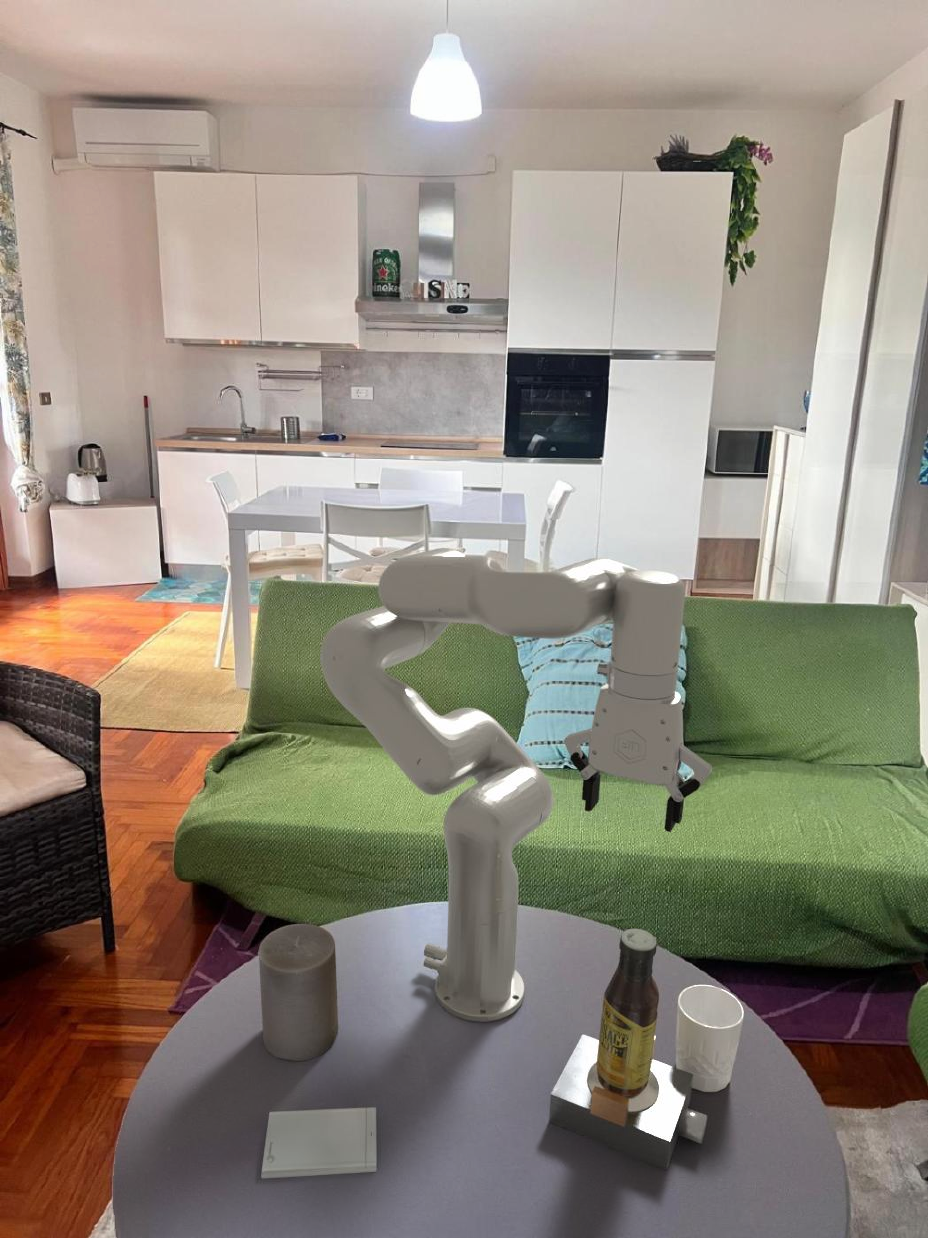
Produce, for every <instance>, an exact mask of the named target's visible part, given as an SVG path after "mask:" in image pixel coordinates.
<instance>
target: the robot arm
mask: <svg viewBox="0 0 928 1238" xmlns="http://www.w3.org/2000/svg"><path fill="white" fill-rule="evenodd" d="M377 586H378V587H377V590H378V596H379V599H380V603H382V605H383V606H379V607H376V608H372V609H368V610H366V611H363V612H359V613H355V614H353V615H351V616H347V617H346V618H344V619H342V620H340V621H338V622H337V623H336V624H334V625H333V626H332V627H330V629H329V630H328V631H327V632H326V634H325V635H324V637H323V638H322V639H323V640H322V643H321V645H320V665H321V672H322V674H323V677H324V680H325V682H326V685H327V686H328V688H329V690H330V691H331V693H332V694H333V697H335V699H337V701H339V703H340V704H341V705H342V706H343V707H344V708H345V710H347V711H348V712H349V713H350V714H351V715H352V716H354V718H356V720H358V721H359V722H360V723H361V724H362V725H363V726H364V727H365V728H366V729H367V730H368V731H369V732H370V734H372V736H373V737H374V739H375V740H376V742H378V743H379V745H380V746H381V747H382V748H383V750H384V751H385V752H386V753H387V755H388V756H389V757H390V758H391V759H392V760H393V762H394V763H395V764H396V765H397V766H398V768H400V770H401V771H402V772H403V773H404V775H405V776H406V777H407V778H408V780H409V781H410V782H411V783H412V784H413V785H414V786H415V787H416V788H417V789H419V790H420V791H421V792H422V793H423V794H426V795H429V796H439V795H442V794H445V793H447V792H449V791H451V790H452V789H455V788H456V787H458V786H461V784H463V783H464V782H466V781H468V780H470V779H471V778H473V779H474V781H475V782H476V783H475V784H474V785H472V786H470V787H468V788H467V789H466V790H464V791H463V792H462V793H460V794H459V795H458V796H456V797H455V799H454V800H453V801H452V802H451V803H450V805H449V806H448V807H447V810H446V812H445V815H444V818H443V825H442V828H443V829H442V830H443V836H444V837H443V838H444V841H445V842H444V843H445V848H446V854H447V862H448V905H447V907H448V908H447V909H448V910H447V935H446V936H447V939H446V945H447V946H446V948H443V947H441V946H440V945H436V944H434V943H430V942H427V943H426V945H425V947H424V950H423V955H424V957H425V959H424V960H423V967H425V968H427V969H431V970H435V971H436V972H437V975H436V979H435V983H434V992H435V993H434V994H435V997H436V1000H437V1001H438V1004H440V1006H441V1007H442V1008H443V1009H445V1010H446V1011H447V1012H448V1013H450V1014H452V1015H453V1016H455V1017H458V1018H459V1019H462V1020H466V1021H470V1022H479V1023H481V1022H483V1023H484V1022H485V1023H486V1022H492V1021H498V1020H500V1019H503V1018H506V1017H508V1016H510V1015H512V1014H513V1013H515V1012H516V1010H518V1009H519V1007H520V1006H521V1005H522V1003H523V1001H524V999H525V990H526V989H525V988H526V987H525V982H524V980H523V977H522V975H521V974H520V973H519V972H518V971H517V970H516V968H515V965H516V949H517V932H518V931H517V929H518V926H517V925H518V911H519V910H518V909H519V884H520V882H519V873H518V870H517V868H516V865H515V864H514V861H513V851H514V849H515V848H516V846H517V845H518V844H519V843H520V842H521V841H523V840H524V839H525V838H526V837H527V836H529V835H530V834H531V833H532V832H533V831H536V829H538V828H540V826H542V824H544V822H546V821H547V819H549V816H551V813H552V811H553V808H554V803H555V802H554V793H553V789H552V786H551V783H550V782H549V780H548V779H547V777H546V776H545V773H543V771H542V770H541V769H540V768H539V767H538V765H537V764H536V762H534V761H533V760H532V759H531V757H530V756H529V754H527V753H526V752H525V751H524V750H523V748H522V747H521V746H520V745H519V744H518V743H517V741H516V740H514V738H513V737H512V736H511V735H510V734H509V733H508V731H506V729H504V727H503V726H502V724H500V723H499V722H498V721H497V720H496V719H495V718H494V717H492V716H491V715H490V714H488V713H487V712H485V711H483V710H480V709H479V708H475V707H474V708H473V707H461V708H457V709H454V710H452V711H450V712H448V713H446V714H443V715H439V714H438V713H437V712H436V711H435V710H434V709H432V708H431V706H429V705H428V703H427V702H426V701H425V700H424V698H423V697H422V696H421V695H420V694H419V692H417V691H416V690H415V689H413V688H412V687H411V686H410V685H408V684H406V683H404V682H403V681H401V680H399V679H397V678H394V677H392V676H391V675H389V674H387V673H386V672H385V669H388V668H391V667H393V666H396V665H398V664H401V663H403V662H406V661H408V660H411V659H413V658H416V657H418V656H420V655H421V654H424V653H425V652H426V651H427V650H428V649H429V648H431V646H432V645H433V644H434V643H435V642H436V641H437V640H438V638H439V637H440V636H441V635H442V634H443V633H444V632H445V630H446V629H447V628H448V627H449V626H450V625H451V623H458V624H470V625H472V624H473V625H482V627H484V628H485V629H487V630H490V631H491V632H494V633H495V634H499V635H503V636H508V637H515V638H531V639H549V640H552V639H556V640H557V639H565V638H571V637H575V636H577V635H579V634H582V633H584V632H585V631H588V630H590V629H592V628H593V627H596V626H600V625H604V624H609V623H612V632H611V633H612V634H611V635H612V636H611V647H610V659H609V661H608V662H605V663H602V662H599V663H598V664H597V669H596V670H597V671H596V674H597V675H601V676H602V675H603V677H605V679H606V683H605V684H604V685H602V686H601V688H600V690H599V693H598V696H597V700H596V705H595V707H594V708H595V709H594V714H593V717H592V718H593V719H592V725H591V728H588V729H583V730H581V731H577V732H573V733H570V734H568V735H566V737H565V738H564V739H563V743H564V745H565V748H566V750H567V753H568V754H569V757H570V762H571V763H572V764H573V765H574V767H575V768H576V769H577V770H578V772H579V777H580V778H581V779H582V792H581V801H584V811H586V812H589V813H590V812H592V811H593V810H594V809H595V807H596V806H597V805H598V803H599V799H600V789H601V787H600V786H601V776H602V774H605V775H609V776H614V777H618V778H623V779H626V780H631V781H635V782H639V783H644V784H648V785H654V786H658V787H659V786H662V787H664V788H665V789H666V790H667V792H668V793H669V794H670V796H669V798H667V799H668V800H667V801H666V802H667V803H666V810H665V811H666V812H665V820H664V831H665V832H668V833H672V831H673V829H674V827H675V826H676V825H677V824H678V825H679V824H680V823H681V822H682V818H683V812H684V803H685V802H684V801H685V798H687V797H689V796H690V795H692V794H694V793H695V792H696V791H698V790H699V789H700V787H701V786H702V785H703V784H704V782H705V781H706V779H707V778H708V777H709V775H710V774H711V773H712V771H713V766H712V765H711V764H710V763H709V762H707V761H706V760H704V759H703V758H702V757H701V756H699V755H698V754H696V753H695V752H694V751H692V750H691V749H689V748H688V747H687V746H685V744H684V718H683V717H684V716H683V706H682V705H683V704H682V696H681V694H680V693H679V692H677V679H678V673H679V672H678V670H679V662H680V661H679V660H680V652H681V651H680V650H681V640H682V629H683V622H684V621H683V620H684V612H685V611H684V609H685V608H684V607H685V601H686V586H685V584H684V582H683V580H682V579H681V578H680V577H679V576H678V575H675V574H672V573H670V572H666V571H663V570H662V571H661V570H654V569H653V570H651V569H639V568H635V567H632V566H630V565H627V564H624V563H621V562H620V561H619V562H618V561H616V560H613V559H609V558H604V557H593V558H589V559H585V560H582V561H580V562H574V563H572V564H569V565H566V566H564V567H561V568H557V569H555V570H553V571H541V572H535V571H534V572H531V571H530V572H527V571H525V572H522V571H521V572H520V571H504V570H503V568H502V566H501V565H500V563H499V562H497V560H496V559H494V558H492V557H490V556H487V555H465V554H464V553H462V552H461V551H458V550H456V549H453V548H450V547H449V548H448V547H440V548H435V549H431V550H426V551H423V552H419V553H418V552H417V553H414V554H410V555H407V556H403V557H401V558H399V559H396V560H395V561H393V562H391V563H390V564H389V565H388V566H387V567H386V568H385V569H384V571H383V572H382V574H381V576H380V578H379V581H378V585H377ZM586 743H589V744H588V745H589V746H588V754H587V755H586V753H585V752H584V751H583V750H582V747H581V745H583V744H586ZM682 763H683V764H684V765H686V766H687V767H688V768H690V769H691V770H693V771H694V775H693V776H691V777H690V778H688V779H686V780H685V779H684V777H683V776H682V774H681V773H680V772H679V771H680V769H681V767H682ZM600 773H602V774H600Z"/></svg>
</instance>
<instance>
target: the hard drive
mask: <svg viewBox="0 0 928 1238" xmlns="http://www.w3.org/2000/svg"><path fill="white" fill-rule="evenodd" d="M267 1121H268V1122H267V1127H266V1135H265V1142H264V1150H263V1156H262V1157H263V1158H262V1164H261V1165H262V1166H261V1173H260V1175H261V1176H260V1177H261V1179H274V1178H275V1179H276V1178H289V1177H291V1178H294V1177H309V1176H324V1175H340V1174H342V1175H343V1174H357V1173H372V1172H377V1171H378V1170H377V1165H378V1164H377V1160H378V1159H377V1106H374V1107H373V1106H372V1107H346V1108H328V1109H327V1108H323V1109H306V1110H285V1111H284V1110H282V1111H269V1113H268V1120H267Z"/></svg>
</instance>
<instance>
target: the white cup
mask: <svg viewBox="0 0 928 1238" xmlns="http://www.w3.org/2000/svg"><path fill="white" fill-rule="evenodd" d="M744 1010H745V1009H744V1008H743V1005H742V1004H741V1002H740V1000H739V999H737V997H735V996H734V995H733V994H732V993H730V992H729V991H726V990H725V989H722V988H721V987H717V986H713V985H708V984H697V985H696V984H695V985H691V986H689V987H686V988H684V989H683V990H682V991H681V992H680V993H679V995H678V998H677V1012H676V1013H677V1015H676V1029H675V1032H676V1034H675V1052H676V1055H675V1068H677V1069H680V1070H683V1071H685V1072H688V1073H691V1074H693V1081H692V1089H695V1090H697V1091H701V1092H704V1093H717V1092H719V1091H721V1090H722V1091H723V1089H726V1088H727V1086H728V1084H729V1083H730V1081H731V1078H732V1072H733V1068H734V1063H735V1061H736V1057H737V1052H738V1048H739V1042H740V1039H741V1038H740V1036H741V1031H742V1026H743V1021H744V1016H745V1013H744V1012H745V1011H744Z"/></svg>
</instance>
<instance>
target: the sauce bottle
mask: <svg viewBox="0 0 928 1238" xmlns="http://www.w3.org/2000/svg"><path fill="white" fill-rule="evenodd" d="M657 943H658V942H657V938H656V937H655V936H654V935H653V934H652V933H651V932H649V931H647V930H644V929H640V928H630V929H626V930H624V931H623V932H622V934H621V936H620V938H619V944H618V946H619V950H620V951H619V960H618V964H617V968H615V971H614V973H613V975H612V977H611V980H610V981H609V983H608V985H607V987H606V989H605V990H604V994H603V1000H602V1001H603V1003H602V1011H601V1021H600V1028H599V1038H598V1040H599V1045H598V1054H597V1074H598V1080H599V1082H600V1084H601V1086H603V1087H604V1088H605V1089H606V1090H607V1091H610V1092H613V1093H615V1094H618V1095H620V1096H623V1097H633V1096H636V1095H639V1094H640V1093H641V1092H642V1091H643V1090H644V1089H645V1087H646V1086H647V1084H648V1079H649V1075H650V1068H651V1060H653V1059H652V1053H653V1045H654V1038H655V1037H656V1029H657V1021H658V1007H659V1000H660V999H659V998H660V994H659V987H658V985H657V982H656V980H655V979H654V978H653V971H654V970H653V964H654V956H655V955H656V954H657V953H656V952H657ZM655 1039H656V1038H655Z"/></svg>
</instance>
